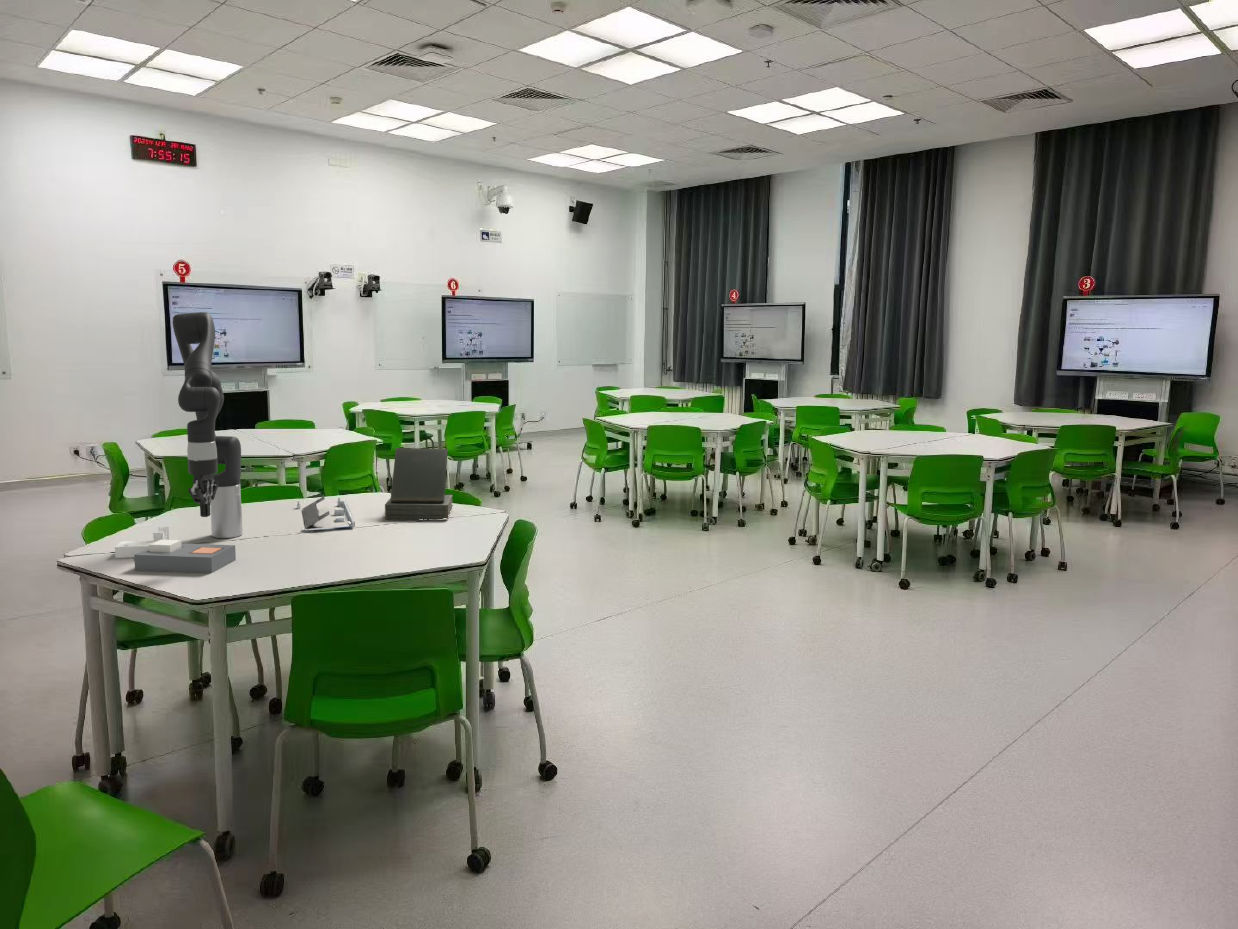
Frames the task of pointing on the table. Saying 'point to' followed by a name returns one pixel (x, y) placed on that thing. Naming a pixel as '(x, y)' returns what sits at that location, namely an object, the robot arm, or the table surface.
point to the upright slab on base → (419, 485)
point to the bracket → (139, 544)
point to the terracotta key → (206, 550)
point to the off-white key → (165, 546)
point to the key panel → (185, 559)
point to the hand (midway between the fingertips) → (205, 516)
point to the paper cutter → (326, 514)
